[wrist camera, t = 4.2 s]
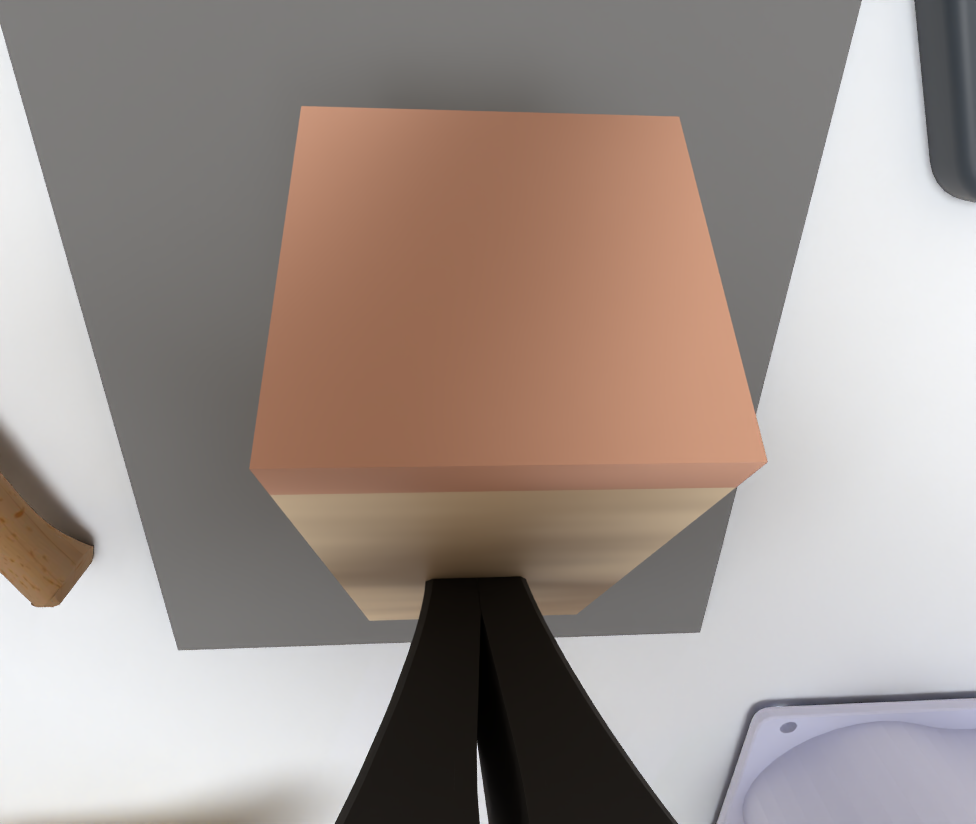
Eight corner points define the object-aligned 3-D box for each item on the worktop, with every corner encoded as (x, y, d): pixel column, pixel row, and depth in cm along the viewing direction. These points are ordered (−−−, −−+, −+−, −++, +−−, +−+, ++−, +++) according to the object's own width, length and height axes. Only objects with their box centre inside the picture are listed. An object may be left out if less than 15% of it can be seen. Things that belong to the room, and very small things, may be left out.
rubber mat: (853, -19, 11) (867, -23, 10) (694, 621, 17) (700, 632, 17) (-8, -60, 10) (-26, -66, 9) (183, 638, 16) (178, 650, 16)
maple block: (558, 428, 14) (678, 116, 7) (576, 614, 12) (767, 461, 5) (378, 430, 14) (300, 105, 6) (369, 620, 12) (248, 468, 5)
